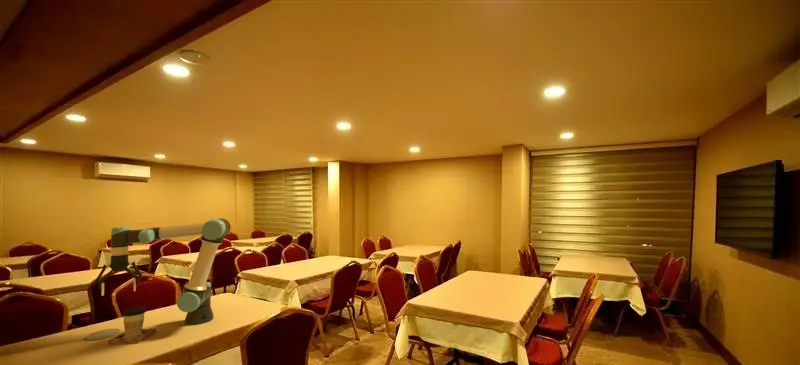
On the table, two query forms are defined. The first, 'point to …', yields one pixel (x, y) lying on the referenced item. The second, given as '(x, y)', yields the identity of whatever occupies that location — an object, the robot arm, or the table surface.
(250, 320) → the table surface
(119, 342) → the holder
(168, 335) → the table surface
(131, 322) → the coffee cup
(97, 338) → the coaster
